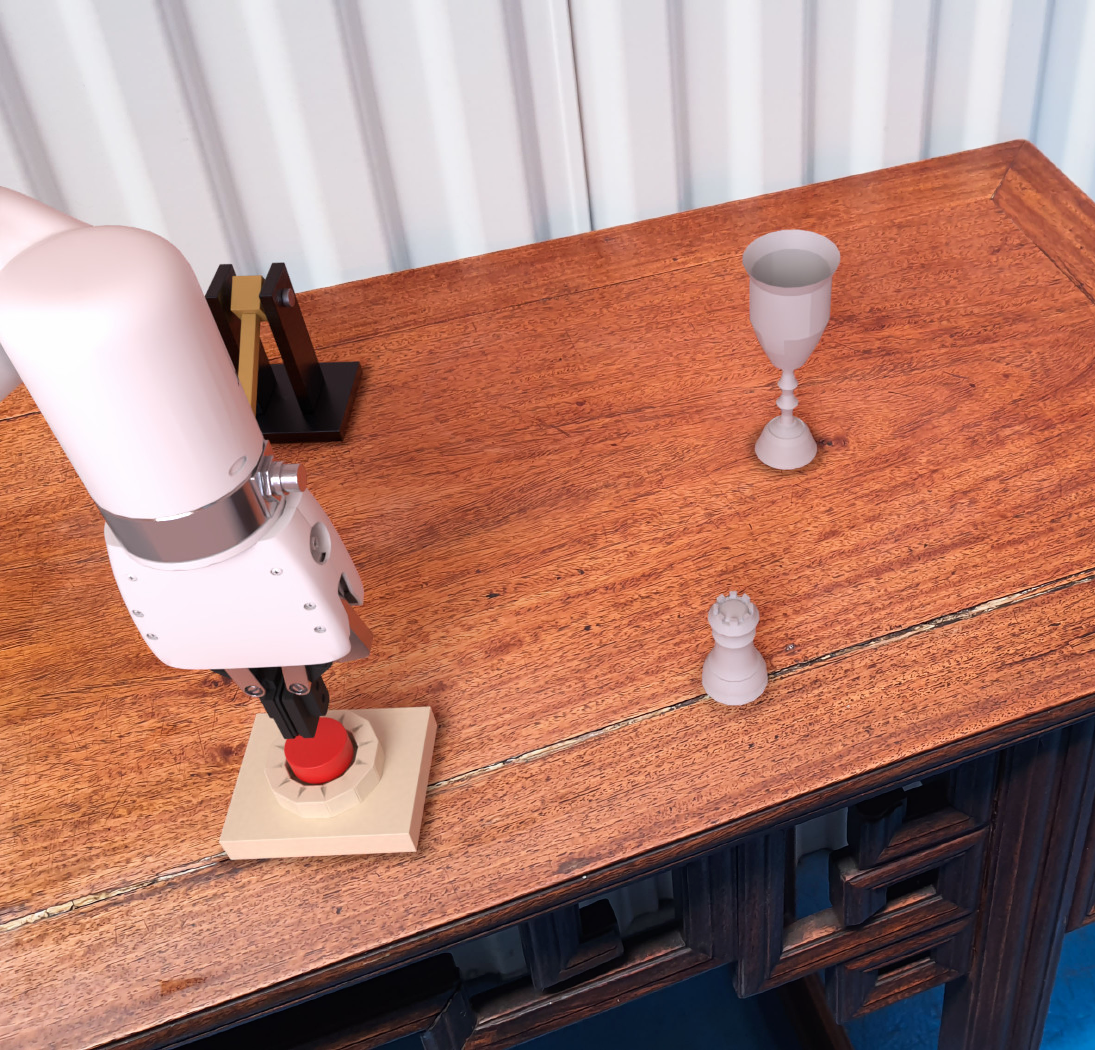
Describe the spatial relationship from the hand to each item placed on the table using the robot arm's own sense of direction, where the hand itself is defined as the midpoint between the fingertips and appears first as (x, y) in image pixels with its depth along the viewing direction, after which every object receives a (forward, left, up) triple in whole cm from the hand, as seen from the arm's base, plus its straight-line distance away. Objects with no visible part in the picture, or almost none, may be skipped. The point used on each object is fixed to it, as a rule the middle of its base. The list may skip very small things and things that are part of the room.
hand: (305, 717), depth 67 cm
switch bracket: (-11, +37, -8) cm, 40 cm away
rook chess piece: (+25, +7, -8) cm, 27 cm away
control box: (0, 0, -8) cm, 8 cm away
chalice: (+30, +30, -8) cm, 43 cm away
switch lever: (-11, +33, -2) cm, 35 cm away
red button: (0, 0, -4) cm, 4 cm away
